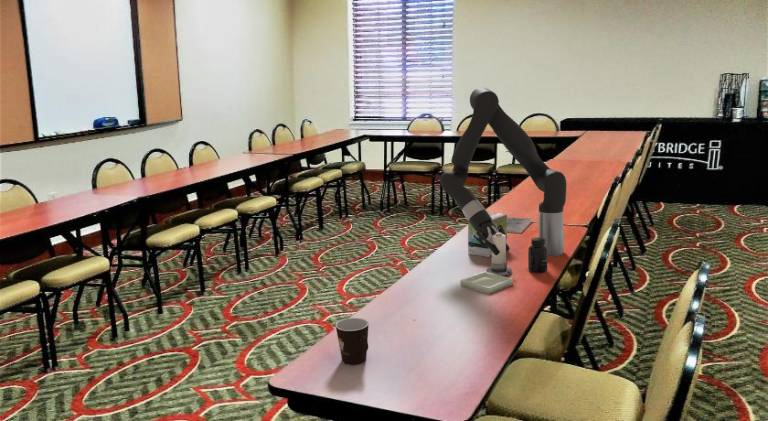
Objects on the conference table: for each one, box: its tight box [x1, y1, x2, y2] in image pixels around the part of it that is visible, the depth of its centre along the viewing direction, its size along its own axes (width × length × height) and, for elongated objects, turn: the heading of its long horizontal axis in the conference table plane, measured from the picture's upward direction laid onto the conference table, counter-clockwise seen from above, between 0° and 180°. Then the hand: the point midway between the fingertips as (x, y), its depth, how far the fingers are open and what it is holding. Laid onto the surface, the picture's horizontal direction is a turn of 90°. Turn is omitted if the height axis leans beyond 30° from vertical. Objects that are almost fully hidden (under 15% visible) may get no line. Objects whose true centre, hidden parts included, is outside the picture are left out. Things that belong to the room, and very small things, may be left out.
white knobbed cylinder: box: [491, 233, 507, 264], centre depth 233 cm, size 5×5×11 cm
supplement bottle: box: [527, 236, 549, 274], centre depth 235 cm, size 7×7×12 cm
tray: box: [459, 271, 514, 295], centre depth 223 cm, size 13×13×2 cm
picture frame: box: [507, 216, 533, 234], centre depth 301 cm, size 16×2×22 cm
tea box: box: [467, 211, 508, 258], centre depth 261 cm, size 15×10×15 cm
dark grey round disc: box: [485, 261, 513, 277], centre depth 235 cm, size 9×9×4 cm
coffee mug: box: [335, 317, 369, 366], centre depth 169 cm, size 12×9×10 cm
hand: (502, 252), depth 232 cm, fingers closed on white knobbed cylinder, 5 cm apart
